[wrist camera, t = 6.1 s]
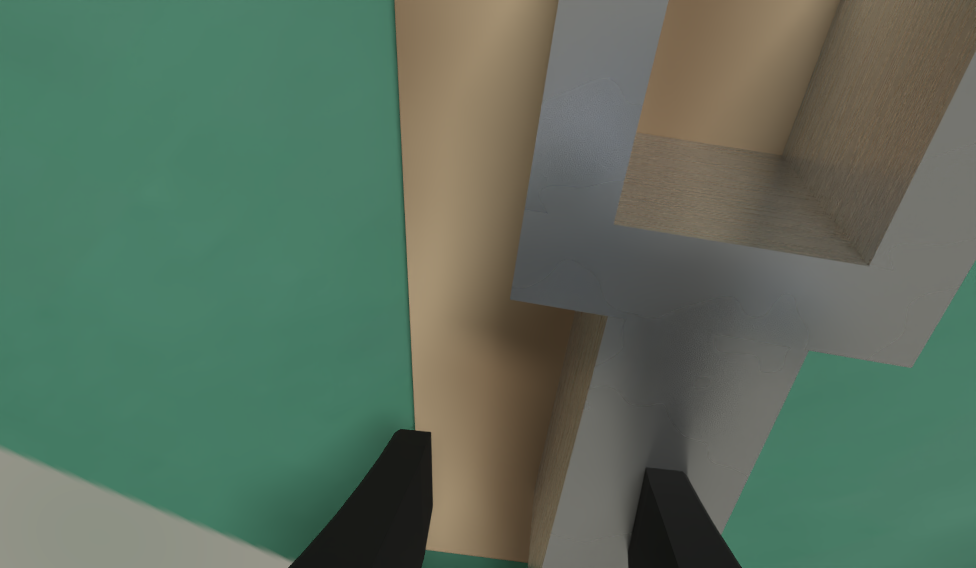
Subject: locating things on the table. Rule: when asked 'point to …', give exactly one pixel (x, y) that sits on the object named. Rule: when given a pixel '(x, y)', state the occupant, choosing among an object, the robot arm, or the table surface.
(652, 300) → the steel fork
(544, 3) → the cork mat
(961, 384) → the table surface
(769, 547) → the table surface
